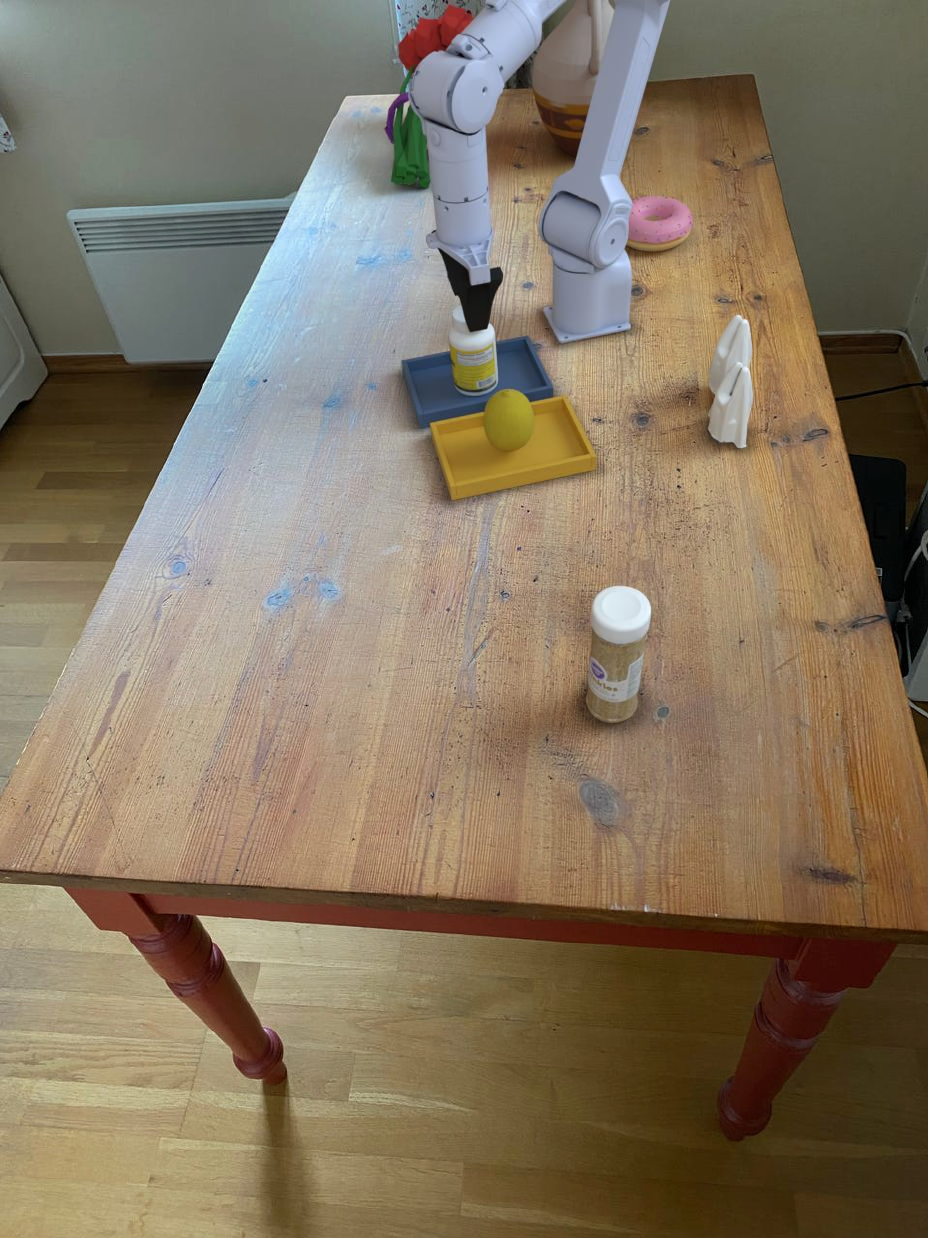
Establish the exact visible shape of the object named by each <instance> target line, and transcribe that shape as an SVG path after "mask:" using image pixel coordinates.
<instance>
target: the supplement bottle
mask: <svg viewBox="0 0 928 1238" xmlns="http://www.w3.org/2000/svg"><path fill="white" fill-rule="evenodd" d="M451 318H452V319H451V320H452V327H451V328H450V329H449V332H448V346H449V351H450V353H451V362H452V370H453V379H454V385H455V387H456V389H457V390H458V391H459V392H460V393H462V394H464V395H468V396H481V395H484V394H487V393H489V392H491V391H492V390H493V389H494V388H495V387H496V386H497V383H498V367H497V353H496V341H497V340H496V332H495V331H496V330H495V329H494V326H493V325H492V324H491V323H490V322H489V325H488V328H487V329H485V330H480V331H475V332H470V331H469V329H468V327H467V324H466V322H465V318H464V314H463V310H462V306H461V304H459V305H457V306H456V307H455V308H454V309H453V310H452V312H451Z"/></svg>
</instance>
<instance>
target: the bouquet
mask: <svg viewBox="0 0 928 1238" xmlns="http://www.w3.org/2000/svg"><path fill="white" fill-rule="evenodd" d="M466 12H467V9H466V8H462V7H458V6H454V5H453V4H450V3H449V4H448V5H447V6H446V8H445V11H444V13H443V16H442V17H441V16H439V17H438V18H425V17H420V18H419V20H418V22H417V23H416V27H415V29H414V28H411V30H410V31H406V32H405V33H406V34H405V35H404V37H403V38H402V39H401V41H399V43H398V44H397V48H398V59H399V61H400V62H401V63H402V65H403V67H404V69H405V70H407V71H408V72H407V74H406V76H405V79H404V80H403V83H402V84H401V86H400V90H399V94H398V96H397V97H396V98H395V99H394V100H393V101H392V103H391V104H390V106H389V108H388V109H387V110H388V111H387V116H386V122H385V123H386V124H385V125H386V126H385V127H384V132H385V134H386V136H387V138H388V140H389V142H390V143H391V144H393V156H394V157H393V165H392V172H391V177H390V182H391V183H393V184H395V185H403V184H404V185H406V186H407V185H408V186H411V185H413V184H415V183H416V180H417V181H418V184H419V186H420V188H423V189H424V188H425V189H429V187H430V185H431V174H430V166H429V163H428V162H429V160H428V159H429V155H428V148H427V147H428V146H427V137H426V136H425V135H424V134H423V130H422V123H421V120H420V118H419V116H418V115H417V114H416V113H415V112H414V111H413V109H412V107H411V105H410V104H409V105H408V107H407V112H406V114H405V117H403V116H404V106H405V104H406V103H408V102H409V97H408V93H409V92H411V91H406V89H407V86H408V84H409V83H410V80H411V78H412V75H413V74H414V73H415V70H416V68H417V66H418V65H419V63H420V62H421V61H422V60H423V59H424V58H425V57H427V56H428V55H429V54H430V53H432V52H434V51H436V52H438V51H445V52H446V49H447V48H448V47H449V46H450V44H451V43H452V40H453V39H454V38H455V37H456V36H457V35H458V34H461V33H462V32H463V30H464V29H465V28H466V27H467V26H468V25H469V24H470V23H471V22H472V21H473V20H474V19H475V18H474V17H473V14H472V12H468V13H466ZM403 118H404V120H403Z"/></svg>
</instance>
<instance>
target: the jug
mask: <svg viewBox="0 0 928 1238" xmlns="http://www.w3.org/2000/svg"><path fill="white" fill-rule="evenodd" d="M614 10H615V8H614V7H613V6H612V5H611V4H610V2H609V0H575V2H574V5H573V7H572V8H571V9H570V10H569V11H568V13H567V14H566V15H565V16H564V17H563V19H562V20H561V21H560V22H559V24H558V25H557V26H556V27H554V29H553V30H552V31H551V32H550V33H549V34H548V36H547V37H546V38H545V39H544V40H543V42H542V43H541V45H540V47H539V49H538V51H537V53H536V55H535V57H534V60H533V66H532V73H531V80H532V82H531V83H532V92H533V96H534V100H535V104H536V108H537V111H538V114H539V116H540V119H541V122H542V124H543V126H544V127H545V129H546V131H547V132H548V133H549V135H550V136H551V137H552V139H553V140H554V142H556V144H557V145H558V146H559V147H560V148H561V149H562V151H563V152H564V153H565V154H566V155H569V156H571V157H574V158H576V157H577V153H578V149H579V146H580V142H581V138H582V134H583V130H584V126H585V122H586V119H587V115H588V111H589V107H590V103H591V99H592V95H593V92H594V88H595V84H596V80H597V76H598V72H599V68H600V65H601V61H602V57H603V53H604V49H605V45H606V41H607V37H608V34H609V30H610V26H611V22H612V18H613V14H614ZM646 86H647V85H646ZM646 86H645V88H647V87H646ZM645 91H646V90H644V93H645ZM644 93H643V95H644ZM642 100H643V99H642ZM642 100H641V102H642Z"/></svg>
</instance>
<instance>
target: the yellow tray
mask: <svg viewBox="0 0 928 1238" xmlns="http://www.w3.org/2000/svg"><path fill="white" fill-rule="evenodd" d="M530 404H531V406H532V409H533V414H534V429H533V433H532V436H531V438H530V440H529V441H528V442H527V444H526V445H524V446H523V447H522V448H520V449H518V450H515V451H503V450H500V449H498V448H496V447H495V446H493V445H492V444H491V443H490V441H489V440H488V438H487V436H486V434H485V430H484V425H483V417H484V412H481V413H476V414H471V415H466V416H461V417H457V418H452V419H447V420H442V421H437V422H433V423H430V427H429V428H430V434H431V439H432V442H433V446H434V448H435V451H436V455H437V459H438V461H439V464H440V465H439V466H440V468H441V471H442V474H443V478H444V480H445V483H446V487H447V490H448V494H449V496H450V500H451V501H456V500H461V499H466V498H470V497H475V496H480V495H484V494H488V493H493V492H498V491H502V490H507V489H512V488H516V487H517V488H518V487H521V486H527V485H531V484H535V483H540V482H546V481H550V480H555V479H559V478H564V477H568V476H572V475H578V474H582V473H588V472H592V471H596V469H597V454H596V452H595V450H594V448H593V445H592V444H591V442H590V440H589V438H588V436H587V434H586V432H585V430H584V428H583V426H582V423H581V421H580V420H579V418H578V416H577V414H576V412H575V410H574V407H573V405H572V404H571V402H570V400H569V398H568V395H566V394H564V395H559V396H553V398H549V399H544V400H539V401H534V402H530Z"/></svg>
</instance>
